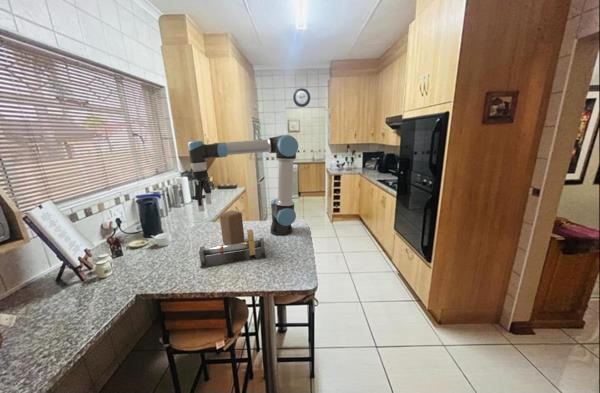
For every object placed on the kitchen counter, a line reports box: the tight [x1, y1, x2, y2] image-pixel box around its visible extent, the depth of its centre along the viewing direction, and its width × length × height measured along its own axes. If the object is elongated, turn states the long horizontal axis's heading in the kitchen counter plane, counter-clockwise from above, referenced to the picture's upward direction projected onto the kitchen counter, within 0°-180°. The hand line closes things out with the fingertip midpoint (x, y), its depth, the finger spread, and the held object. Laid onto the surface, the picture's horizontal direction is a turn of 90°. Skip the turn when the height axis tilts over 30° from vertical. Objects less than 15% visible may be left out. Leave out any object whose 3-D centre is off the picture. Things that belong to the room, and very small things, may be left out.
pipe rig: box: [198, 237, 267, 269], centre depth 136 cm, size 34×12×8 cm, turn 105°
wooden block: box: [219, 209, 245, 245], centre depth 154 cm, size 10×10×20 cm
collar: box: [246, 228, 256, 255], centre depth 138 cm, size 3×8×12 cm, turn 15°
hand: (205, 207), depth 140 cm, fingers open, 13 cm apart
